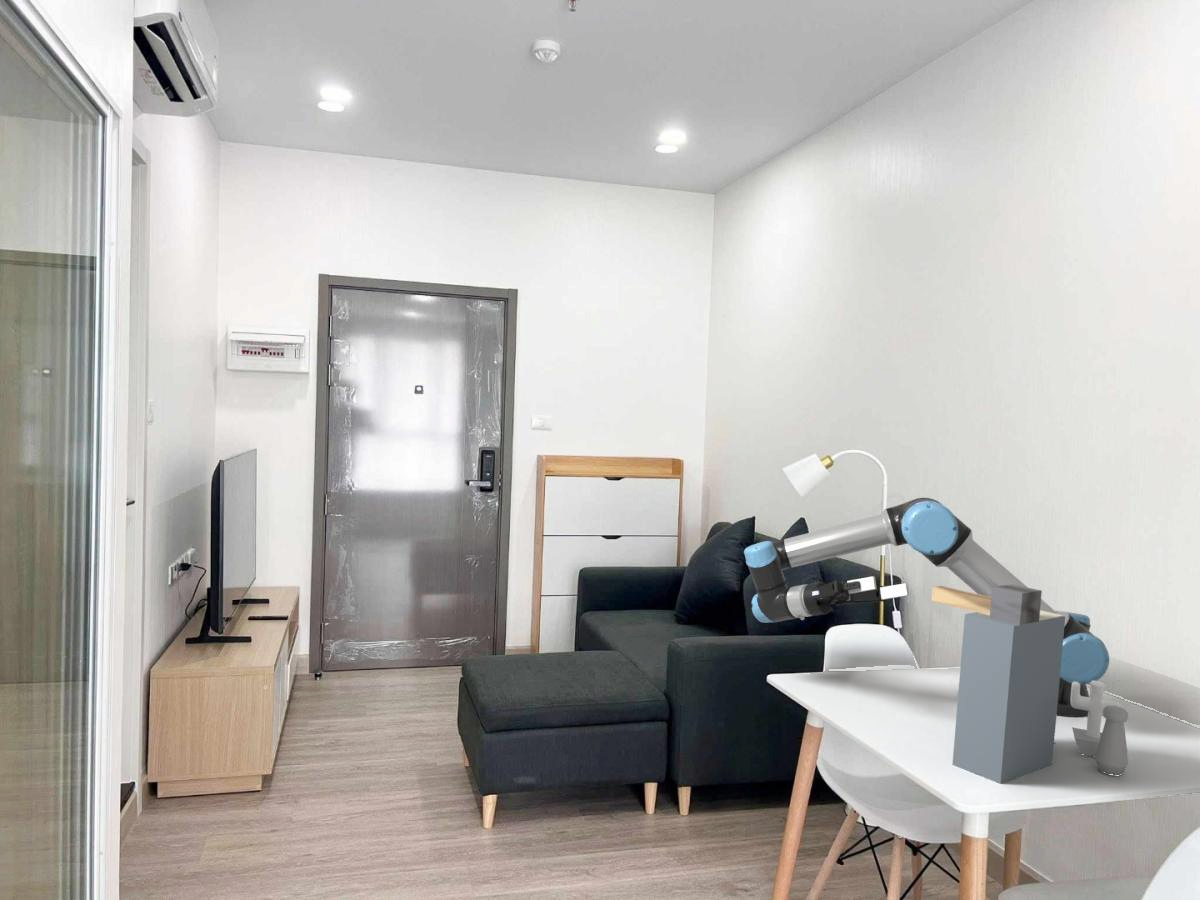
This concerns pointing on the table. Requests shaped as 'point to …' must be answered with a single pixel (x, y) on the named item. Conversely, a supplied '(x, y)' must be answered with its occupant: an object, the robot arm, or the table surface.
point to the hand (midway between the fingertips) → (891, 586)
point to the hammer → (995, 602)
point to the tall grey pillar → (1008, 695)
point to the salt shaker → (1113, 742)
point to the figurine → (1090, 715)
